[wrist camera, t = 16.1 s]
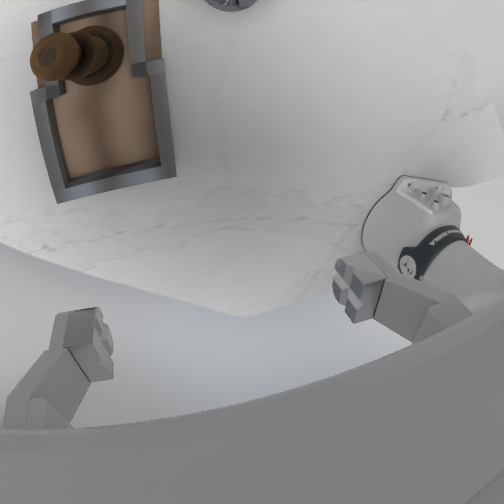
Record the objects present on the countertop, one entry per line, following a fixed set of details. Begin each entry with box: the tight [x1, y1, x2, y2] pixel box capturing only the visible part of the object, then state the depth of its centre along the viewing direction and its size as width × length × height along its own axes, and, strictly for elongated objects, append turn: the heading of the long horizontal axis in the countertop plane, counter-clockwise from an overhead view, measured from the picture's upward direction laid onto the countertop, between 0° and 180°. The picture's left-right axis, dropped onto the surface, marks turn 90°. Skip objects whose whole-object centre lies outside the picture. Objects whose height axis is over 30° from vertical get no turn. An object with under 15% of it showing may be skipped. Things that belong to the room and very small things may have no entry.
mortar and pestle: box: [30, 25, 124, 86], centre depth 19 cm, size 7×6×18 cm
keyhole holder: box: [30, 0, 177, 204], centre depth 27 cm, size 14×21×4 cm, turn 1°
